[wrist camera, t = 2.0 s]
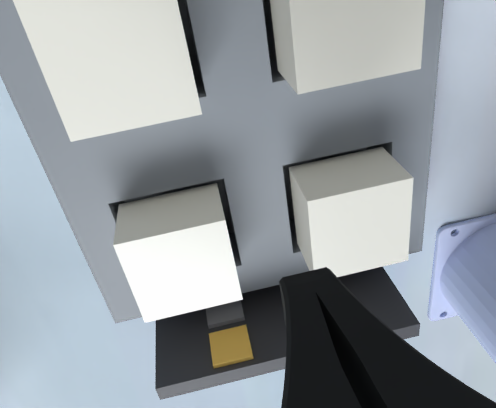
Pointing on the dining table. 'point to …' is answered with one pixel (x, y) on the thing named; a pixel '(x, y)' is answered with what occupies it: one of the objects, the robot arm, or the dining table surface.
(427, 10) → the button board
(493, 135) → the dining table surface
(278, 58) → the button
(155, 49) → the button
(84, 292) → the dining table surface
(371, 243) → the button
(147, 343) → the dining table surface
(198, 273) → the button
